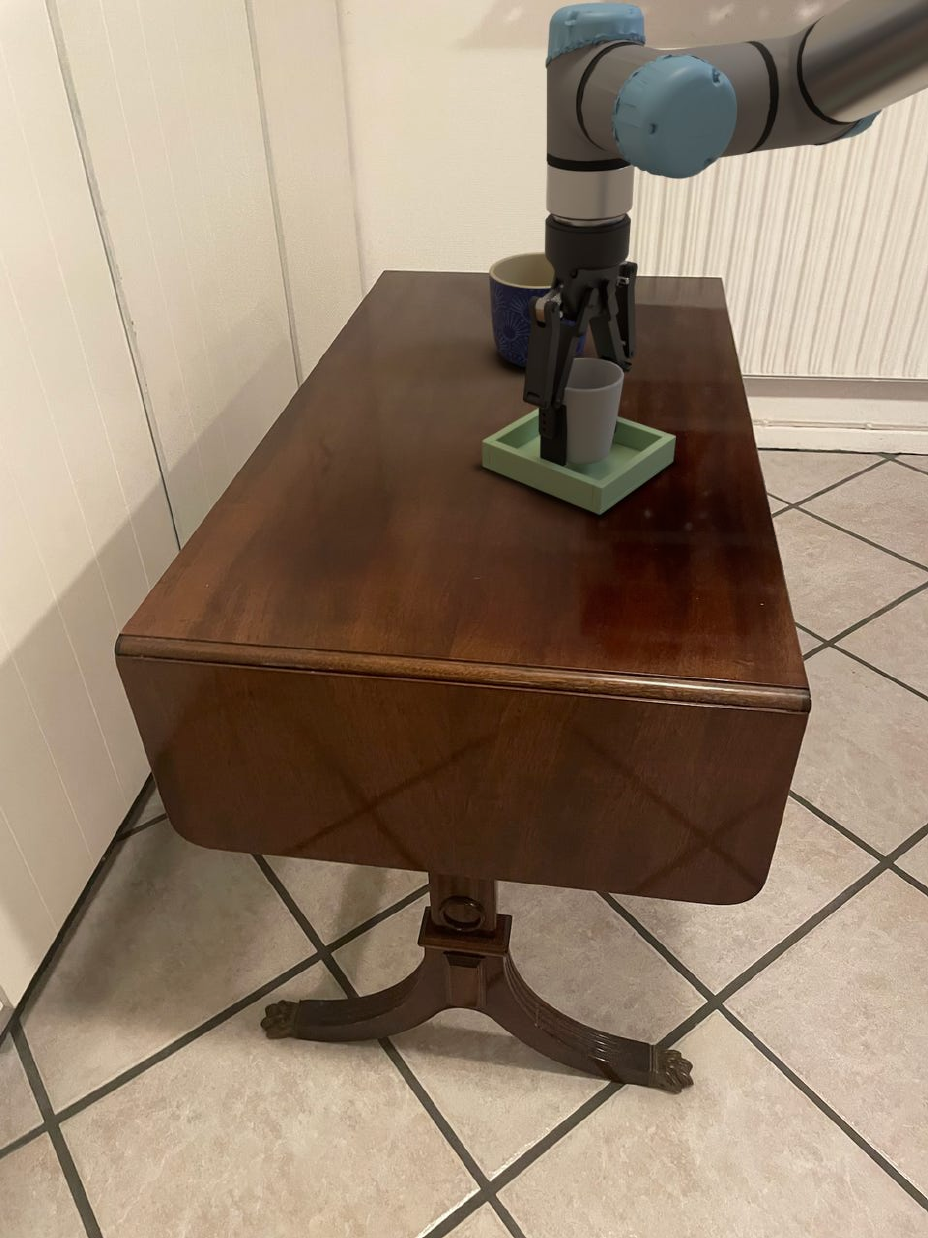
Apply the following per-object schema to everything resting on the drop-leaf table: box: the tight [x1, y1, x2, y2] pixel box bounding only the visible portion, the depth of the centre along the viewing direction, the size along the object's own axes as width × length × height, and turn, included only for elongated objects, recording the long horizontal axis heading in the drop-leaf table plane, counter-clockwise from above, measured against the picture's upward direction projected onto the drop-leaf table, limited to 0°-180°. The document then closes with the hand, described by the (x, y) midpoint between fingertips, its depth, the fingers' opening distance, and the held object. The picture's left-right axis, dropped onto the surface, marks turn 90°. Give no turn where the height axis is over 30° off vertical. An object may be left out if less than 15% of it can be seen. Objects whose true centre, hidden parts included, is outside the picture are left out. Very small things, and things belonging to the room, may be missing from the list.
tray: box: [481, 407, 677, 515], centre depth 98 cm, size 15×13×3 cm
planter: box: [488, 251, 589, 368], centre depth 117 cm, size 12×12×11 cm
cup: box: [552, 357, 625, 465], centre depth 95 cm, size 8×10×8 cm
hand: (578, 445), depth 97 cm, fingers closed on cup, 8 cm apart
